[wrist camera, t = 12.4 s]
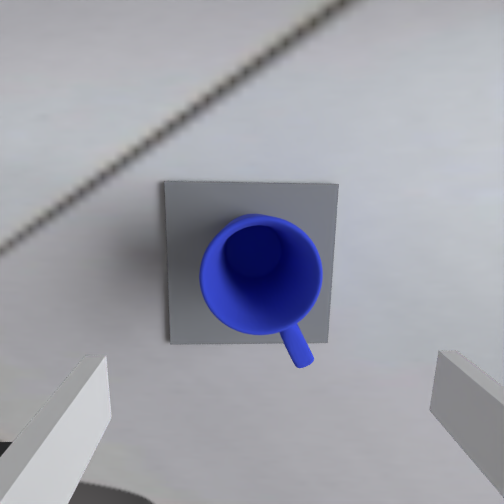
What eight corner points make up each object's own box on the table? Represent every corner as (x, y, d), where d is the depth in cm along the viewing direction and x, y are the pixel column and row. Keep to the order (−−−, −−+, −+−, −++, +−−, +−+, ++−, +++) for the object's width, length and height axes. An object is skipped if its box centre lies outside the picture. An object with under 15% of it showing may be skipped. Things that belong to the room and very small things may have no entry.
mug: (251, 335, 33) (258, 399, 23) (194, 229, 31) (175, 251, 21) (324, 300, 33) (363, 350, 23) (273, 190, 30) (292, 193, 21)
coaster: (165, 181, 30) (164, 181, 30) (336, 184, 31) (338, 184, 31) (171, 341, 33) (170, 344, 33) (326, 340, 34) (327, 342, 34)
